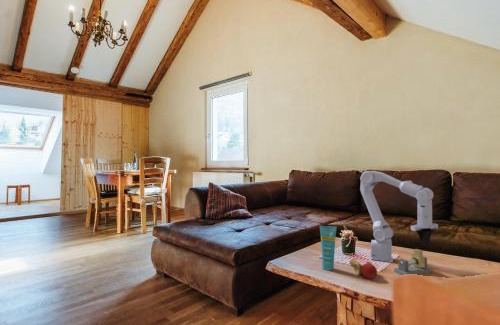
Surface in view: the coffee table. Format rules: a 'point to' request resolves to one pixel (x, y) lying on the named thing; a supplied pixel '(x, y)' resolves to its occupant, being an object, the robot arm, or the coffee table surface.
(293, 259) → the coffee table surface
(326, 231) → the tube
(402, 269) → the pipe rig
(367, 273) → the kendama
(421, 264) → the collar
